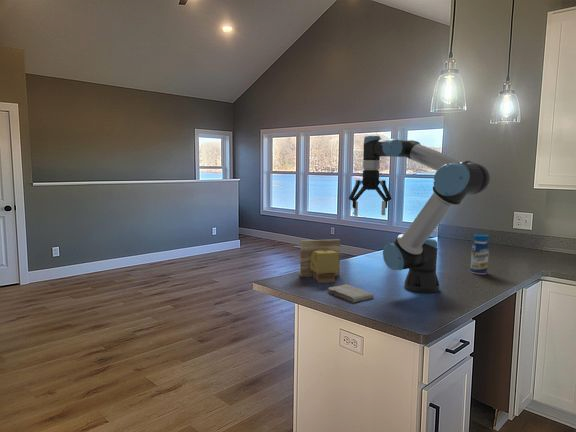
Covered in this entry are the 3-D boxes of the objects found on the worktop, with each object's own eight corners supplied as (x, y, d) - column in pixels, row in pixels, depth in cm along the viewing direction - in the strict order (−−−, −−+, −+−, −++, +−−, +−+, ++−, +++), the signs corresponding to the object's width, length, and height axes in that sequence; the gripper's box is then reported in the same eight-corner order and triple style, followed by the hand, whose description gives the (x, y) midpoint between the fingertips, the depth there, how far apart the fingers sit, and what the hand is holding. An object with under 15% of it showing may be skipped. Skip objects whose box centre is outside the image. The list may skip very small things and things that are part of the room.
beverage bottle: (486, 271, 221) (488, 234, 219) (489, 275, 213) (491, 236, 211) (468, 270, 224) (471, 233, 221) (471, 274, 215) (473, 235, 213)
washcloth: (345, 288, 189) (345, 282, 188) (374, 299, 174) (375, 292, 174) (325, 293, 182) (325, 286, 182) (353, 304, 167) (354, 296, 167)
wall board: (347, 281, 198) (348, 244, 196) (306, 283, 195) (306, 245, 193) (336, 273, 214) (337, 238, 212) (298, 274, 211) (299, 239, 209)
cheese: (309, 269, 205) (310, 249, 204) (329, 267, 209) (330, 248, 207) (317, 274, 195) (318, 253, 194) (338, 272, 199) (339, 252, 198)
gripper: (392, 169, 200) (391, 214, 202) (342, 169, 195) (341, 214, 198) (399, 170, 192) (397, 215, 195) (347, 169, 188) (346, 216, 190)
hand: (369, 215), depth 196 cm, fingers open, 13 cm apart
